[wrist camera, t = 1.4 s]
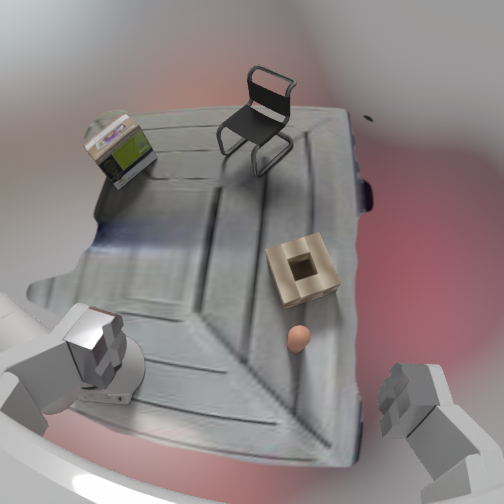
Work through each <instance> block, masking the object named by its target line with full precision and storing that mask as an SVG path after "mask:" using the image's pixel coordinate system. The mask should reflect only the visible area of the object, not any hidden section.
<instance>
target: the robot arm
mask: <svg viewBox="0 0 504 504" xmlns="http://www.w3.org/2000/svg"><path fill="white" fill-rule="evenodd" d="M123 325H124V324H123V320H122V316H120V315H118V314H114V313H111V312H108V311H105V310H102V309H98V308H95V307H92V306H88V305H85V304H83V303H77V304H75V305H74V306H73V307H72V308H71V309H70V311H69V312H68V313H67V314H66V315H65V316H64V318H63V319H62V320H61V321H60V322H59V324H58V325H57V326H56V327H54V328H52V329H51V328H49V327H47V326H45V325H44V324H43V323H41V322H40V321H38V320H37V319H36V318H34V317H33V316H32V315H31V314H29V313H27V312H26V311H25V310H24V309H23V308H22V307H21V306H20V305H18V304H17V303H16V302H15V301H14V300H13V299H12V298H11V297H10V296H8V295H6V294H4V293H2V292H0V504H229V503H223V502H218V501H212V500H208V499H203V498H199V497H195V496H190V495H186V494H182V493H178V492H174V491H171V490H168V489H164V488H160V487H158V486H154V485H151V484H148V483H145V482H142V481H139V480H136V479H133V478H130V477H128V476H125V475H122V474H120V473H117V472H115V471H112V470H110V469H107V468H104V467H102V466H100V465H97V464H95V463H93V462H91V461H88V460H86V459H84V458H82V457H80V456H77V455H75V454H74V453H71V452H69V451H67V450H65V449H64V448H62V447H60V446H58V445H56V444H54V443H52V442H50V441H48V440H47V439H45V438H43V435H44V433H45V431H46V429H47V427H48V423H47V420H46V419H45V418H44V416H43V415H42V413H43V414H46V415H52V414H57V413H60V412H62V411H64V410H66V409H67V408H69V407H70V406H71V405H72V404H73V403H74V401H75V400H76V399H78V400H82V401H91V402H101V403H114V404H129V403H130V401H131V398H132V395H133V392H134V391H135V390H136V388H137V387H138V386H139V385H140V383H141V381H142V379H143V376H144V371H145V362H144V357H143V354H142V352H141V350H140V348H139V346H138V345H137V344H136V343H135V342H134V341H133V340H132V339H130V338H129V337H127V336H126V335H125V334H124V333H123V332H122V330H121V328H122V327H123ZM390 374H391V377H389V378H387V379H385V380H384V381H383V383H382V385H381V386H380V389H379V393H378V409H379V410H380V411H381V412H382V413H383V414H384V415H383V417H382V418H381V420H380V423H381V431H382V438H407V439H406V441H407V442H408V443H409V445H410V446H411V448H412V449H413V450H414V452H415V454H416V455H417V456H418V458H419V459H420V461H421V462H422V464H423V465H424V466H425V468H426V469H427V471H428V472H429V474H430V475H431V477H432V478H433V480H434V481H433V482H432V483H430V484H429V485H427V486H426V487H424V488H423V489H422V490H421V498H422V499H421V500H422V504H504V458H503V455H502V451H501V448H500V447H499V446H498V445H497V443H496V442H495V441H494V440H493V439H492V438H491V437H490V436H489V435H488V434H487V433H486V432H485V431H484V430H483V429H482V428H481V427H480V426H479V425H478V424H477V423H476V422H474V420H473V419H472V418H471V417H470V416H469V415H468V414H467V413H465V411H464V410H463V409H462V408H460V407H459V406H458V405H454V403H453V400H452V397H451V394H450V391H449V388H448V385H447V382H446V379H445V376H444V373H443V371H442V368H441V367H440V366H439V365H434V364H411V363H396V364H395V365H393V367H392V368H391V370H390ZM120 397H121V400H120Z"/></svg>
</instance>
